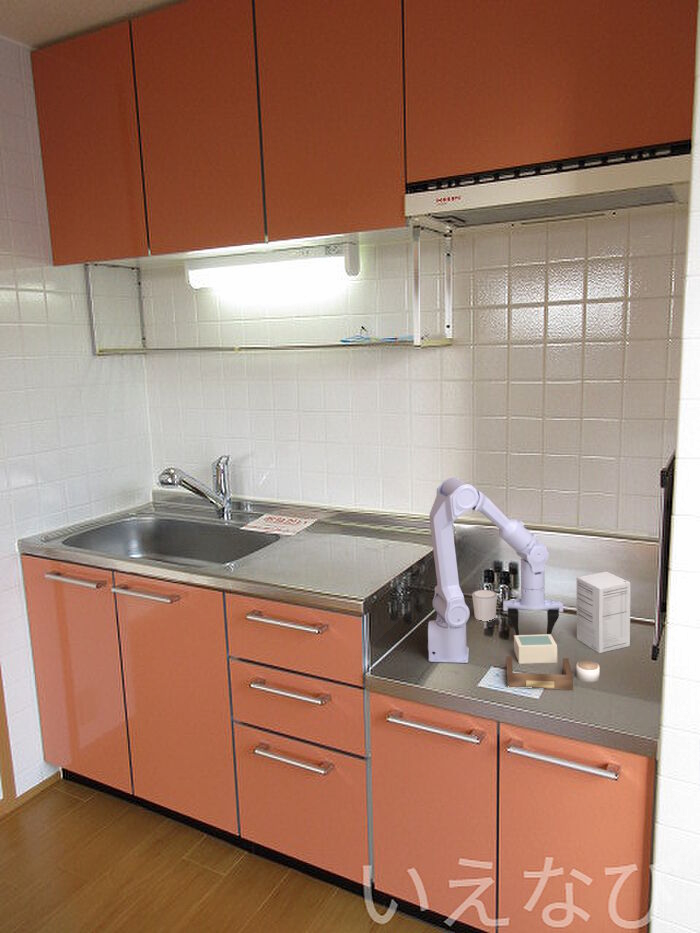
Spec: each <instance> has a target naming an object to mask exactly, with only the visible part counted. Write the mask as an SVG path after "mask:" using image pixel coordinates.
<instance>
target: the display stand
mask: <svg viewBox="0 0 700 933" xmlns="http://www.w3.org/2000/svg"><path fill="white" fill-rule="evenodd" d="M505 658H506V660H505V661H506V662H505V663H506V681H507V682H506V683H507V687H508V686H509V687H532V688H546V689H545V690H553V689H561V690H562V691H574V677H573V673H572V672H573V671H572V668H571V664H570V659H569V658H567V657H566V658H565V657H564V658H562V672H563V674H557V673H555V674H554V673H553V674H552V673H532V672H531V673H530V672H529V673H527V672H514V671H513V670H514V669H513V656H509V655H507V656H506V657H505ZM561 690H560V691H561Z"/></svg>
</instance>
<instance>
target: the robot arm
mask: <svg viewBox="0 0 700 933" xmlns="http://www.w3.org/2000/svg"><path fill="white" fill-rule="evenodd" d="M471 510H472V511H474V512H480V513H481V514H482V515H483V516H485V518H486V519H487V520H488V521H490V522H491V523H492V524H494V525H495V526H496V527H497V528H498V536H499V537H500V538H501V539H502V540H503V541H504V542H505V543H506V544H507V545H509V546H510V547H511V548H512V549H513V550H514V551H515V552H516V555H517V556H518V557H520V599H519V598H518V599H511V600H509V599H508V600H503V601H502V605H503V606H502V607H503V609H502V610H503V611H504V612H505V611H506V612H507V615H508V618H509V619H510V621H511V623H512V626H513V628H514V631H515V635H520V631H519V611H546V612H547V613H546V614H547V618H546V619H547V624H546V634H551V635H552V633H553V630H554V628H555V627H554V626H555V625H556V622H557V621H558V619H559V617H560V613H564V603H563V601H559V600H558V601H557V600H549V599H546V598H545V595H546V592H545V590H546V589H545V580H546V579H545V570H546V569H545V568H546V566H545V565H546V563H547V561H548V559H549V557H550V552H548V548H547V547H546V545H545V543H542V542H541V541H539V540H537V535H536V534H535V533H532V532H530V531H529V530H528V529H527V528H526V527H525V523H524V522H523V521H522V520H520V519H518V520H517V519H515V518H508V517H507V516H506V515H505V514H504V513H503V512H502V511H501V510H500V509H499V508H498V507H497V505H496V504H494V503H493V501H491V500H490V498H489V497H487V495H485V494H484V493H483V492H481V491H480V490H478V489H476V488H475V486H474V485H471V484H467V483H466V482H464V481H462V480H461V479H459V478H457V477H448V478H447V479H445V480H444V481H443V482H442V483H441V484H440V485H439V486H438V487H437V489H436V497H435V498H434V501H433V504H432V507H431V510H430V511H429V526H430V534H431V542H432V551H433V557H434V558H433V560H434V565H435V574H436V584H437V585H436V586H435V587H434V596H433V599H432V607H433V610H434V611H435V612H436V613H437V614H436V619H435V620H429V621H428V625H427V640H428V642H427V650H428V662H430V663H431V662H432V663H456V664H457V663H458V664H461V663H462V664H467V663H469V652H470V651H469V649H470V648H469V646H467V622H468V620H469V618H470V614H471V613H470V608H469V607H468V605H467V603H466V601H465V597H464V594H463V591H462V588H461V587H460V580H459V573H458V572H459V571H458V563H457V555H456V546H455V537H454V530H453V523H454V522H455V521H456V520H457V519H459V517H461V516H463V515H464V514H466V513H468V512H469V511H471ZM559 612H560V613H559Z"/></svg>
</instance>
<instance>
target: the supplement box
mask: <svg viewBox="0 0 700 933" xmlns="http://www.w3.org/2000/svg"><path fill="white" fill-rule="evenodd" d="M576 640H578V641H579V642H580V643H582V644H584V645H586V647H587V648H588V647H589V648H590V649H591V650H594V651H595V652H597V653H598V654H601V653H602V654H603V653H606V652H611V651H615V650H618V649H619V650H620V649H623V648H628V647H630V646H631V582H630V581H629V580H626V579H624V578H621V576H617V575H616V574H613V573H611V572H609V571H602V572H597V573H592V574H588V575H587V574H586V575H583V576H578V577H576Z"/></svg>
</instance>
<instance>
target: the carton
mask: <svg viewBox="0 0 700 933" xmlns="http://www.w3.org/2000/svg"><path fill="white" fill-rule="evenodd" d="M513 652H514V655H515V657H516V659H517V661H518V664H522V665H525V664H554V663H555V664H556V663H558V644H557V643H556V641H555V639H554V637H553V636H552V633H551V634H547V633H545V634H544V633H543V634H519V635H516V634H515V635H513Z"/></svg>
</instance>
